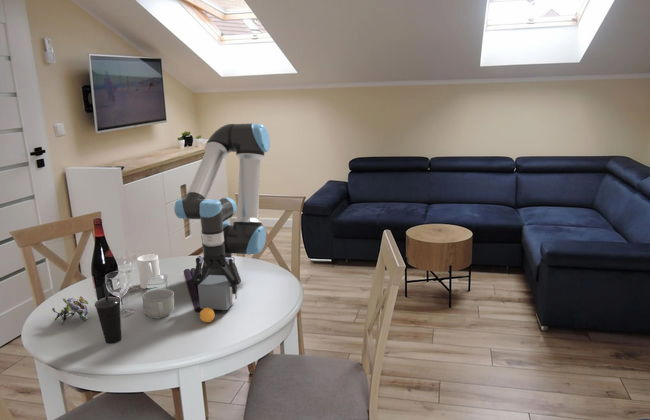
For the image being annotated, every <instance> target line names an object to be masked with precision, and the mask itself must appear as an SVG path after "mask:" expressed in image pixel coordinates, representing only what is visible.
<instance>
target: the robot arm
mask: <svg viewBox="0 0 650 420" xmlns="http://www.w3.org/2000/svg"><path fill="white" fill-rule="evenodd" d="M270 143H271V141H270V136H269V132H268V129H267V127H266V126H265V125H264V124H262V123H227V124H225V125H223V126H221V127H220V128H218V129H216V131H214V132H213V133H212V134H211V135H210V137H209V138H208V139H207V142H206V144H205V146H204V151H205V152H204V155H203V157H202V159H201V162H200V163H199V166H198V168H197V170H196V172H195V175H194V177H193V180H192V182H191V184H190V186H189V189H188V191H187V193H186V195H185V197H184V198H179V199H177V200H176V201H175V203H174V214H175V216H176V217H177V218H178V219H183V220H200V226H201V230H200V237H201V244H202V245H201V246H202V252H203V253H202V254H203V256H201V255H199V256H197V257H196V258H195V269H194V275H193V279H192V283H194V284H197V286H198V285H199V284H200V283H201V282H202V281H203V280H204V279H205V278H207V277H208V276H209V275H221V276H225V277H226V278H227V280H228V281H229V283H230V284H231V285H230V286H229V289H230V301H231V303H232V304H234V303H235V301H236V300H235V294H236V293H238V292H237V291H238V289H237V288H238V287H237V286H238V285H239V284H240V283H242V279H241V276H240V273H239V271H238V267H237V266H236V263H235V257H234V256H232V254H234V255H237V254H239V255H258V254H260V253H261V252H262V251H263V249H264V247H265V244H266V241H267V229H266V227H265V226H263V224H262V223H263V222H262V221H261V219H260V218H259V210H260V209H259V207H260V205H259V204H260V185H261V184H260V182H261V180H260V179H261V178H260V177H261V161H262V159H264V158H265V153H267V152H269V151H270V147H271V146H270V145H271V144H270ZM232 152H233V153H235V156H236V157H237V158H238V160H239V167H238V170H239V171H238V188H237V189H238V190H237V191H238V194H237V198H238V199H237V203H236V201H235V200H234V199H233V198H232V197H222V198H220V199H215V198H214V199H213V198H212V199H208V196H209V195H210V193H211V192H210V191H211V190H212V187H213V185H214V181H215V180H216V177H217V174H218V172H219V170H220V168H221V165H222V162H223V160H224V159H226V158H227V157H228V154H229V153H232ZM236 212H237V216H236V218H235V219H234V220H233V224H231V225H230V222H229V221H228V219H229V220H230V219H231V218H232V217H233V216H234V215H235V214H236Z"/></svg>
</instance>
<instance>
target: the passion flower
mask: <svg viewBox="0 0 650 420" xmlns="http://www.w3.org/2000/svg"><path fill="white" fill-rule="evenodd" d="M62 300H63V302H64V303H65V304H66V305H65V306H63V309H61V310H60V312H57V311H56V310H55V309H56V308H55V307H52V308H51V310H52V311H53V313H56V317H55V318H54V320H53V322H56V321H57V320H58V319H59V318H61V321H60V322H61V325H62V326H63V323H64V322H65V321H66V319H67V317H68V316H69V315H70V316H71V317H72V316H74V315H75V313H77V315H78V316H79V318H80V319H81V320H82V321H84V322H86V321H88V320H89V318H88V316H87V315H88V314H89V312H88V311H89V310H88V306H86V304H87V305H88V304H89V302H88V301H87V300H86V299H85V298H83V297H82V295H80V296H79V297H78V299H77V298H74V297H71V298H68V299H67V298H66V297H64V298H62ZM61 325H60V326H61Z"/></svg>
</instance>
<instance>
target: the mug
mask: <svg viewBox="0 0 650 420" xmlns="http://www.w3.org/2000/svg"><path fill="white" fill-rule="evenodd" d="M136 260H137V261H136V262H137V268H138V274H139V275H138V276H139V283H140V284H139V287H140V288H141V289H144V290H145V289H146V288H147V282H148V280H149V279H150V277H153V276H154V275H160V276H161V270H160V262H159V255H158V254H153V253H152V254H151V253H149V254H143V255H141V256H138V257H137V259H136Z"/></svg>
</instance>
